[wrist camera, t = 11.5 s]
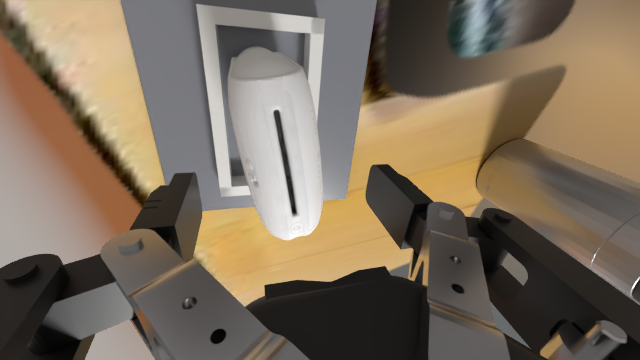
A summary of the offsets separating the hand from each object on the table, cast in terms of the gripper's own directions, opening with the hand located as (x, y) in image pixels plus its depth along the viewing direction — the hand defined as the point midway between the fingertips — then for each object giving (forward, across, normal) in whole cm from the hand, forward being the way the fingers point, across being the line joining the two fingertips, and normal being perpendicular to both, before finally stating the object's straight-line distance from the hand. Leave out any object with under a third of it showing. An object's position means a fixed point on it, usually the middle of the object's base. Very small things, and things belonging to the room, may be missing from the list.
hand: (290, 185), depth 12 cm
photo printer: (+13, 0, 0) cm, 13 cm away
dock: (+14, 0, 0) cm, 14 cm away
